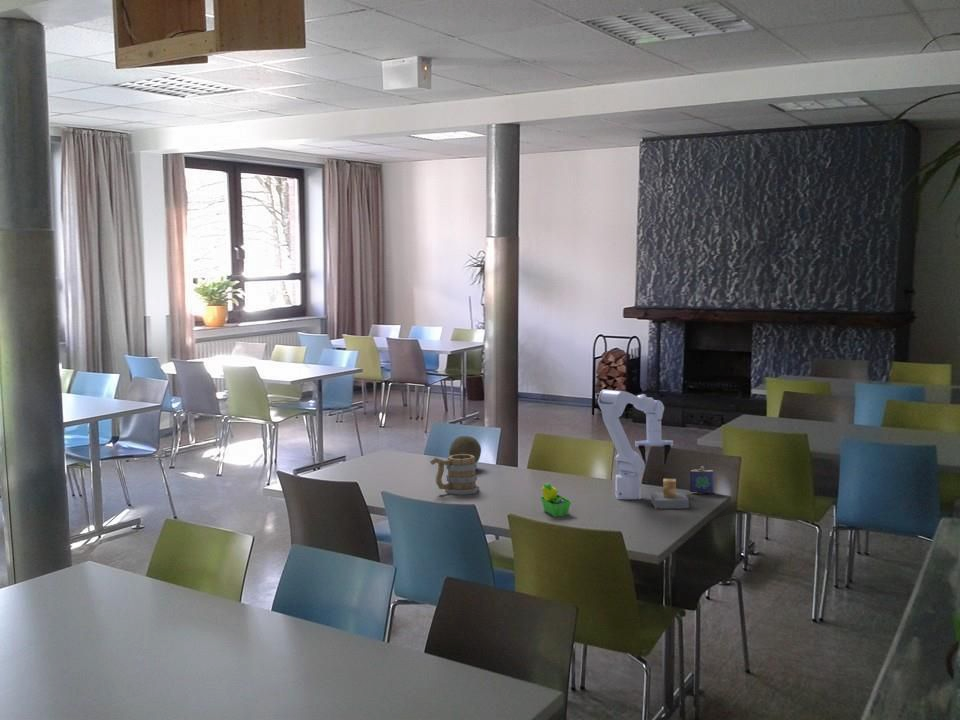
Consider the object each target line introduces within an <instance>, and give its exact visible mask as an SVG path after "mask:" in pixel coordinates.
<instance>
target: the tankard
mask: <svg viewBox="0 0 960 720" xmlns="http://www.w3.org/2000/svg"><path fill="white" fill-rule="evenodd" d="M429 462H430V464H431V465H432V466H434V465H435V464H436V463H437V464H438V467H437V473H436V476H435V484H436V485H437V488H438V489H439V490H444V491H445V492H446V493H448V494H449V495H461V496H465V495H471V494H472V493H473V494H475V493H477V492H478V491H479V490H480V486H479V485H478V484H477V483H476V481H478V474H477V473H476V469H477V468H478V462H477V463H476V462H475V456H473V455H468V454H458V455H451V456H448V457H447V459H446V460H445V459H444V460H443V459H440V458H438V457H434V458H432V459H431V460H429ZM445 468H446V470H447V471H448V472H447V475H446V481H447V482H446V483H443V481H442V480H443V479H442V477H443V475H444V471H445Z"/></svg>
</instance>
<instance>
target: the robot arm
mask: <svg viewBox="0 0 960 720" xmlns="http://www.w3.org/2000/svg"><path fill="white" fill-rule="evenodd" d="M597 404H598V406H599V408H600V411H601V415H602V420H603V423H604V425H605V427H606V429H607V432H608V434H609V436H610V438H611V442H612V444H613V445H614V448H615V449H616V450H615V451H616V452H617V454H616V455H615V457H614V460H615V462H616V469H617V470H618V471H619V474H615V481H614V482H615V484H614V485H615V488H614V493H615V497H616V499H617V500H642V499H643V496H642V494H641V476H642V475H643V473H644V471H645V468H646V467H645V466H646V465H647V460H646V452H647V451H646V450H647V449H646V447H662V453H663V454H662V455H663V457H662V464H663V465H666V463H667V458H668V455H669V453H670V451H671V449H672V447H673V446H674V440H672V439H671V440H669V439H662V419H663V416H664V415H663V414H664V411H665V406H664V404H663V402H662V401H661V400H659V399H657V400H656V399H654V397H652V396H651V397H648V396H647V394H645V393H641V394H638V395H635V394H633V393H630V392H628V391H624V390H613V389H612V390H611V389H602V390H601V391H600V392H599V395H598V399H597ZM628 404H631V405H633V407H634V408H635V409H636V410H639V411H640V412H643V413H644V414H645V416H646V417H645V418H646V419H645V420H646V421H645V422H646V440H645V439H644V440H635V445H634V446H635V447H636V448H638V450H639V453H640V454H639V453H637V451H635V450H633V449H632V445H631V444H630V441H629V439H628V436H627V434H626V432H625V429H624V427H623V425H622V423H621V421H620V419H619V418H620V417H621V416H623V413H624V411H625V409H626V406H627V405H628ZM641 457H642V458H641ZM640 494H641V495H640ZM637 498H638V499H637ZM641 498H642V499H641Z"/></svg>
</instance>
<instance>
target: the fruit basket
mask: <svg viewBox="0 0 960 720" xmlns="http://www.w3.org/2000/svg"><path fill="white" fill-rule="evenodd" d="M541 491H542V496H540V501H541V502H542V506H543V509H544V512H546V513H547V514H549V515H551V516H553V517H563V516H568V513H569V509H570V506H571V503H572V501H571V500H569V499H568V498H565V497H563V496H561V495H559V494H558V492H559V490H558V489H557V488H555V487H554V486H552V485H551V484H550V482H549V483H543V485H542V487H541Z"/></svg>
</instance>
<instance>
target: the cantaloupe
mask: <svg viewBox="0 0 960 720" xmlns="http://www.w3.org/2000/svg"><path fill="white" fill-rule="evenodd" d="M481 447H482V446H481V444H480V442H479V441H478V440H477V438H475V437H473V436H469V435H462V436H460V435H459V436H458V437H456V438H455V439H454V440H453V441H452V443H451V444H450V447H449V451H448V452H449V454H448V455H449V456H451V455H458V454H468V455H473V456H475V462H476V463H477V464H478V463H479V460H480V458H481V454H482V448H481ZM449 456H448V457H449Z"/></svg>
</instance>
